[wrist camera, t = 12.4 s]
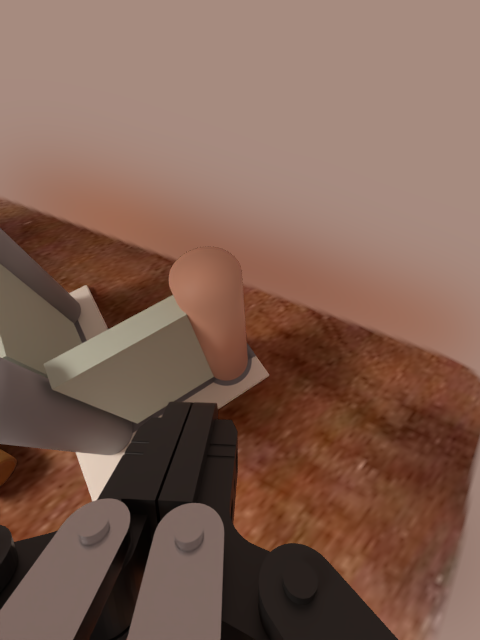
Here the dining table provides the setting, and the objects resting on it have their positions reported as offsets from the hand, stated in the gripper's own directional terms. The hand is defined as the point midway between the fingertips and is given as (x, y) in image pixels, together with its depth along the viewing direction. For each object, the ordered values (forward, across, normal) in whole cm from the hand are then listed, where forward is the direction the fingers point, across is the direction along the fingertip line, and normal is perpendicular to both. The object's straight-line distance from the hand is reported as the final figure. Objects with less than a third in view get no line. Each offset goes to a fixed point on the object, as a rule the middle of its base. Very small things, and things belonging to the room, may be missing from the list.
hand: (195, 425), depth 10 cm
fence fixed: (+11, +11, +4) cm, 16 cm away
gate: (+10, +3, +4) cm, 11 cm away
